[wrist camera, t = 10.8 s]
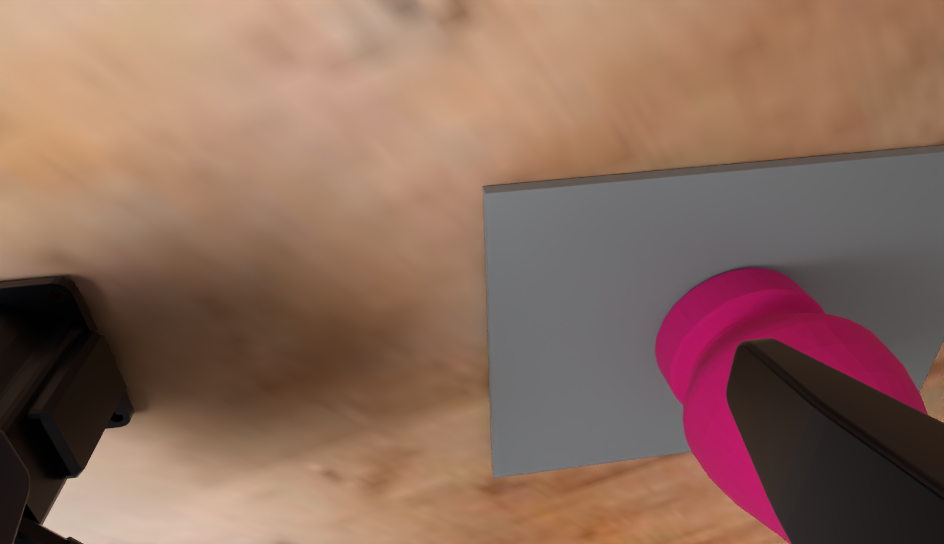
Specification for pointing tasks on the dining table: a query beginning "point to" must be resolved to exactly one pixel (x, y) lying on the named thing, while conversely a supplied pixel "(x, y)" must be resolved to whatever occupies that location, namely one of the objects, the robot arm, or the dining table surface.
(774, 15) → the dining table surface
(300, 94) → the dining table surface
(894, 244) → the place mat
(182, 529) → the dining table surface
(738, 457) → the magenta pepper mill
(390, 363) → the dining table surface
